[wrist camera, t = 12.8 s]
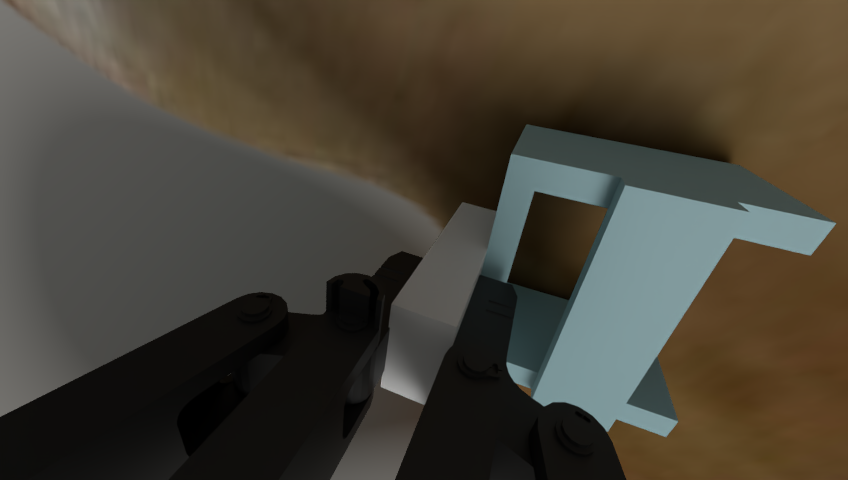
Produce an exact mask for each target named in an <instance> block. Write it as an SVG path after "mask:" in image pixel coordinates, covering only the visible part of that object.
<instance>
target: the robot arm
mask: <svg viewBox="0 0 848 480" xmlns="http://www.w3.org/2000/svg"><path fill="white" fill-rule="evenodd" d="M496 212H497V211H494V210H490V209H486V208H483V207H479V206H475V205H472V204H468V203H464V202H462V203H461V205H460V206H459V208H458V209H457V211H456V212H455V213H454V215H453V216H452V218H451V219H450V221H449V222H448V224H447V225H446V226H445V228H444V229H443V231H442V232H441V234H440V235H439V236H438V238H437V239H436V241H435V242H434V244H433V245H432V247H431V248H430V249H429V251H428V252H427V254H426V255H425V257H424V258H422V257H419V256H415V255H412V254H409V253H406V252H403V251H401V252H399V253H397V254H395V255H393V256H390V257H389V258H388V259H387V260H386V261H385V262H384V264H383V265H382V266H381V268H379V269H378V270H377V272H376V273H375V275H373V276H372V277H370V276H368V275H363V274H358V273H347V274H342V275H338V276H335V277H333V278H332V279H330V280H329V281H327V292H326V293H327V294H326V299H327V300H326V312H325V313H324V314H322V315H310V314H300V313H291V312H288V308H287V303H286V302H285V301H284V300H283V299H282V297H280V296H277V295H275V294H273V293H263V292H259V293H251V294H247V295H244V296H241V297H239V298H236V299H234V300H232V301H231V302H228V303H226V304H224V305H222V306H220V307H218V308H216V309H214V310H212V311H210V312H209V313H207V314H204V315H202V316H201V317H198V318H196V319H194V320H192V321H190V322H188V323H187V324H184V325H183V326H180V327H178V328H177V329H175V330H173V331H171V332H169V333H167V334H165V335H163V336H161V337H159V338H157V339H155V340H153V341H151V342H149V343H147V344H145V345H143V346H141V347H139V348H137V349H135V350H133V351H131V352H129V353H127V354H125V355H123V356H121V357H119V358H117V359H115V360H113V361H111V362H109V363H107V364H105V365H103V366H101V367H99V368H97V369H95V370H93V371H91V372H89V373H87V374H85V375H83V376H81V377H79V378H77V379H75V380H73V381H71V382H69V383H67V384H65V385H63V386H61V387H59V388H57V389H55V390H53V391H51V392H49V393H47V394H45V395H43V396H41V397H39V398H37V399H35V400H33V401H31V402H29V403H27V404H25V405H23V406H21V407H19V408H17V409H15V410H13V411H11V412H9V413H7V414H5V415H3V416H1V417H0V480H330V479H331V477H332V475H333V473H334V471H335V470H336V468H337V466H338V464H339V462H340V460H341V459H342V457H343V455H344V453H345V451H346V450H347V448H348V446H349V444H350V442H351V440H352V438H353V437H354V435H355V433H356V431H357V429H358V428H359V426H360V424H361V422H362V420H363V419H364V417H365V415H366V413H367V411H368V409H369V408H370V405H371V402H372V399H373V393H374V387H375V386H376V384H377V383H378V381H379V379H380V377H381V376H382V381H381V387H382V388H385V389H387V390H389V391H392V392H395V393H397V394H399V395H402V396H404V397H407V398H409V399H411V400H414V401H416V402H419V403H421V404H423V405H425V406H424V408H423V411H422V413H421V416H420V418H419V421H418V423H417V426H416V428H415V431H414V433H413V436H412V438H411V441H410V444H409V446H408V448H407V451H406V454H405V456H404V458H403V461H402V463H401V466H400V468H399V471H398V474H397V476H396V479H395V480H626V478H625V475H624V472H623V470H622V467H621V464H620V462H619V459H618V456H617V454H616V451H615V448H614V446H613V443H612V441H611V439H610V437H609V436H608V434H607V432H606V430H605V428H604V427H603V426H602V425H601V424H600V423H599V422H598V421H597V420H596V419H595V418H594V417H593V416H592V415H591V414H589V413H588V412H586V411H585V410H583V409H582V408H580V407H578V406H575V405H572V404H569V403H566V402H552V403H550V404H548V405H546V406H543V405H541V404H540V403H539V402H537V401H536V400H534V399H533V398H531V397H530V396H528V395H527V394H526V393H525V392H524V391H522V390H521V389H520V388H519V387H518V386H517V385H516V383H515V382H514V381H513V379H512V378H511V376H510V374H509V372H508V368H507V353H508V348H509V342H510V337H511V331H512V326H513V319H514V314H515V309H516V303H517V298H518V297H517V294H516V292H515V290H514V287H513V285H512V284H508V283H505V282H502V281H499V280H496V279H492V278H489V277H486V276H483V275H481V272H482V268H483V264H484V260H485V256H486V252H487V248H488V244H489V240H490V236H491V232H492V228H493V224H494V220H495V216H496ZM230 373H231V374H230ZM229 374H230V375H229ZM227 375H228V376H227Z"/></svg>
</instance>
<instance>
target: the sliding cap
mask: <svg viewBox="0 0 848 480" xmlns="http://www.w3.org/2000/svg"><path fill="white" fill-rule="evenodd" d="M534 191H536V192H541V193H545V194H549V195H553V196H558V197H562V198H566V199H571V200H575V201H579V202H583V203H588V204H592V205H596V206H601V207H605V208H608V210H607V212H606V215H605V217H604V220H603V222H602V224H601V227H600V229H599V231H598V234H597V236H596V238H595V241H594V243H593V245H592V248H591V250H590V252H589V255H588V257H587V260H586V262H585V264H584V267H583V269H582V271H581V274H580V276H579V278H578V281H577V283H576V285H575V288H574V290H573V292H572V295H571V297H570V300H566V299H563V298H559V297H556V296H552V295H549V294H546V293H542V292H539V291H536V290H532V289H529V288H525V287H522V286H519V285H515V284H512V283H509V282H507V280H508V277H509V274H510V270H511V267H512V264H513V260H514V257H515V254H516V250H517V247H518V244H519V240H520V237H521V234H522V231H523V227H524V224H525V221H526V217H527V214H528V211H529V207H530V204H531V201H532V198H533V194H534ZM835 224H836V223H835V222H834V221H832V220H830V219H829V218H827V217H825V216H824V215H822V214H820V213H818V212H817V211H815V210H813V209H812V208H810V207H808V206H807V205H805V204H803V203H802V202H800V201H798V200H797V199H795V198H793V197H792V196H790V195H788V194H787V193H785V192H783V191H782V190H780V189H778V188H777V187H775V186H773V185H772V184H770V183H768V182H767V181H765V180H763V179H762V178H760V177H758V176H757V175H755V174H753V173H752V172H750V171H748V170H747V169H745V168H743V167H742V166H740V165H736V164H730V163H725V162H720V161H715V160H710V159H704V158H699V157H694V156H689V155H684V154H678V153H673V152H668V151H663V150H658V149H652V148H647V147H642V146H637V145H632V144H626V143H621V142H616V141H611V140H606V139H600V138H595V137H590V136H585V135H580V134H574V133H569V132H564V131H559V130H554V129H548V128H543V127H538V126H533V125H528V124H526V126H525V128H524V130H523V132H522V134H521V136H520V138H519V140H518V142H517V144H516V146H515V148H514V150H513V152H512V154H511V157H510V161H509V165H508V169H507V173H506V177H505V181H504V185H503V189H502V193H501V197H500V201H499V204H498V208H497V212H496V216H495V220H494V224H493V228H492V232H491V236H490V240H489V244H488V248H487V252H486V256H485V260H484V264H483V268H482V272H481V275H483V276H486V277H489V278H492V279H496V280H499V281H502V282H505V283H508V284H512V285H513V287H514V290H515V292H516V294H517V297H518V298H517V303H516V309H515V314H514V319H513V326H512V331H511V337H510V342H509V348H508V353H507V368H508V372H509V374H510V376H511V378H512V379H513V381H514V382H515V383H517V384H520V385H523V386H525V387H528V388H531V389H532V390H531V398H533V399H534V400H536V401H537V402H539V403H540V404H541V405H543V406H546V405H548V404H550V403H552V402H566V403H569V404H572V405H575V406H578V407H580V408H582V409H583V410H585V411H586V412H588V413H589V414H591V415H592V416H593V417H594V418H595V419H596V420H597V421H598V422H599V423H600V424H601V425H602V426H603V427H604V428H605V430H606V431H607V432H608V431H609V429H610V428H611V426H612V424H613V423H614V421H615V420H616V419H617V420H620V421H623V422H626V423H629V424H631V425H634V426H637V427H640V428H642V429H645V430H648V431H651V432H654V433H656V434H659V435H662V436H665V437H666V436H667V435H668V434H669V433H670V431H671V430H672V429H673V428H674V426H675V425H676V424H677V423H678V419H677V416H676V413H675V410H674V407H673V404H672V401H671V398H670V394H669V391H668V388H667V385H666V382H665V379H664V376H663V373H662V370H661V367H660V364H659V361H658V357H657V355H658V354H659V352H660V351H661V349H662V347H663V346H664V344H665V343H666V341H667V340H668V338H669V337H670V335H671V334H672V332H673V331H674V329H675V327H676V326H677V324H678V323H679V321H680V320H681V318H682V317H683V315H684V314H685V312H686V311H687V309H688V307H689V306H690V304H691V303H692V301H693V300H694V298H695V297H696V295H697V294H698V292H699V290H700V289H701V287H702V286H703V284H704V283H705V281H706V280H707V278H708V277H709V275H710V274H711V272H712V270H713V269H714V267H715V266H716V264H717V263H718V261H719V260H720V258H721V257H722V255H723V254H724V252H725V250H726V249H727V247H728V246H729V244H730V243H731V241H732V240H733V238H738V239H742V240H746V241H751V242H755V243H759V244H763V245H768V246H772V247H776V248H781V249H785V250H789V251H793V252H798V253H802V254H806V255H811V254H812V253H813V252H814V251H815V249H816V248H817V247H818V246H819V244H820V243H821V242H822V241H823V239H824V238H825V237H826V236H827V234H828V233H829V232H830V231H831V229H832V228H833V227H834V226H835Z"/></svg>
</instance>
